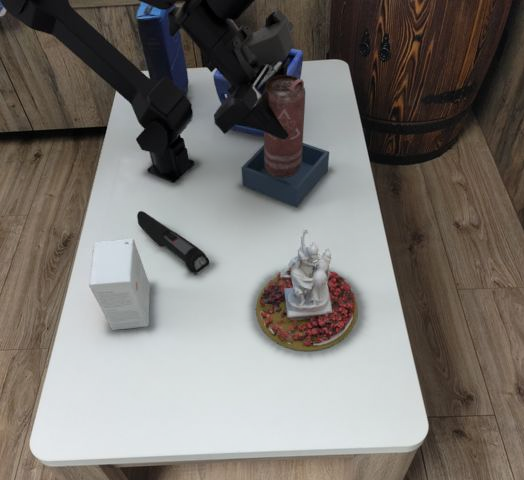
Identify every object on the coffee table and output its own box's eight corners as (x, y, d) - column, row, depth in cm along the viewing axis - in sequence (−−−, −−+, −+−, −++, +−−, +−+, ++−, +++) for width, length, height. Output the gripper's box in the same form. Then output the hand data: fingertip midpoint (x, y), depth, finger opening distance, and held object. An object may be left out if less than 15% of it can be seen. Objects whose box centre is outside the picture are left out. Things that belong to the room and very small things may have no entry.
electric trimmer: (152, 218, 86) (148, 204, 84) (211, 263, 80) (209, 249, 77) (135, 230, 85) (130, 216, 82) (194, 277, 78) (190, 263, 76)
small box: (115, 289, 78) (93, 240, 69) (151, 285, 78) (133, 236, 69) (111, 331, 73) (87, 285, 65) (149, 327, 73) (130, 281, 65)
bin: (242, 186, 89) (241, 167, 86) (275, 151, 94) (275, 132, 91) (296, 207, 86) (297, 188, 83) (327, 170, 91) (329, 151, 87)
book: (183, 126, 100) (161, 16, 83) (157, 126, 100) (130, 17, 83) (191, 86, 108) (173, -22, 91) (167, 86, 108) (145, -21, 91)
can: (310, 167, 83) (315, 84, 71) (281, 184, 81) (282, 101, 69) (286, 150, 85) (287, 67, 74) (257, 166, 83) (254, 83, 72)
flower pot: (217, 135, 98) (209, 74, 88) (244, 98, 104) (240, 37, 94) (280, 149, 95) (279, 87, 85) (304, 110, 101) (306, 49, 91)
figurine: (253, 274, 78) (247, 203, 66) (348, 266, 78) (359, 194, 66) (259, 355, 70) (254, 290, 58) (366, 346, 70) (382, 280, 58)
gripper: (227, 34, 59) (311, 137, 66) (281, -32, 68) (349, 64, 75) (178, 88, 67) (257, 174, 74) (232, 22, 76) (298, 104, 83)
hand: (292, 127), depth 76 cm, fingers closed on can, 5 cm apart
